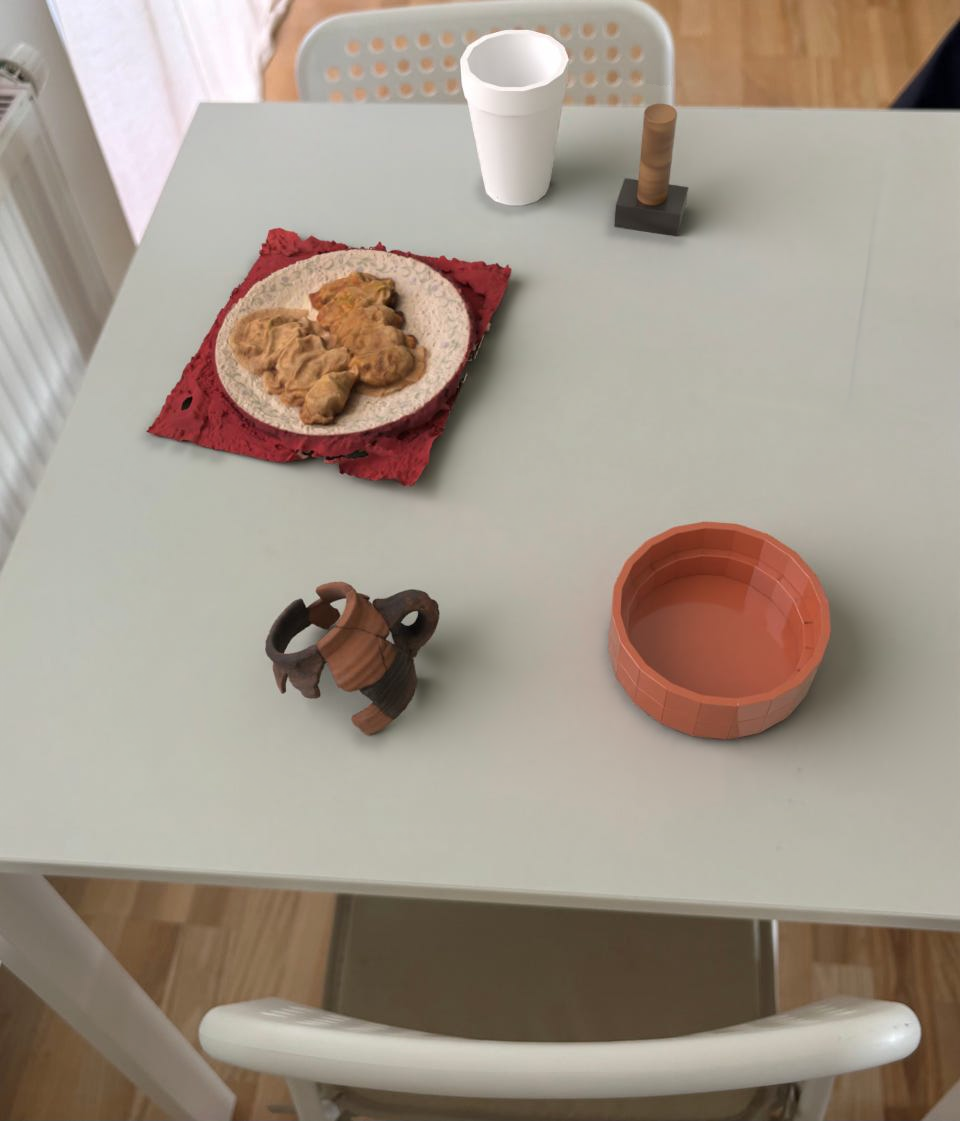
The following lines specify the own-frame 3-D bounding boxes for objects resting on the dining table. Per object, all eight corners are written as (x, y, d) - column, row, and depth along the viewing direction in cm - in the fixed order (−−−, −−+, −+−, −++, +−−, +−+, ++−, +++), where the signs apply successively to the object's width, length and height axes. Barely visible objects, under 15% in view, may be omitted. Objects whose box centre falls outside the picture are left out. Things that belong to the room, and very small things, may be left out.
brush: (685, 209, 104) (699, 103, 95) (677, 236, 102) (691, 131, 93) (623, 199, 105) (630, 95, 96) (614, 226, 103) (621, 122, 94)
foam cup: (584, 191, 106) (589, 65, 95) (505, 229, 103) (501, 104, 93) (527, 142, 111) (525, 17, 100) (450, 178, 108) (440, 54, 97)
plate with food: (514, 283, 100) (513, 252, 97) (416, 495, 86) (411, 466, 83) (275, 240, 105) (268, 209, 102) (146, 433, 91) (134, 404, 88)
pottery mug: (337, 771, 74) (266, 694, 70) (308, 697, 82) (243, 623, 77) (483, 668, 74) (422, 584, 70) (440, 603, 82) (383, 525, 78)
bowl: (809, 573, 81) (825, 529, 76) (817, 752, 73) (836, 715, 68) (614, 558, 82) (618, 514, 78) (602, 731, 74) (606, 694, 70)
